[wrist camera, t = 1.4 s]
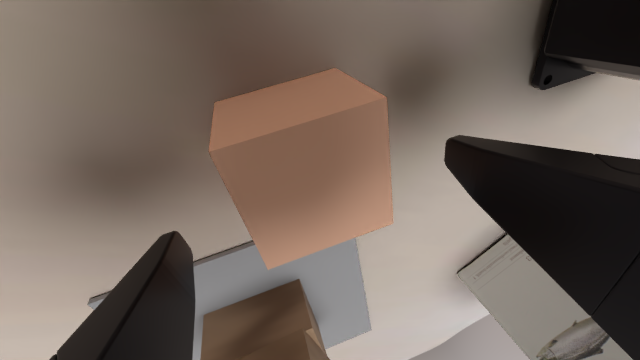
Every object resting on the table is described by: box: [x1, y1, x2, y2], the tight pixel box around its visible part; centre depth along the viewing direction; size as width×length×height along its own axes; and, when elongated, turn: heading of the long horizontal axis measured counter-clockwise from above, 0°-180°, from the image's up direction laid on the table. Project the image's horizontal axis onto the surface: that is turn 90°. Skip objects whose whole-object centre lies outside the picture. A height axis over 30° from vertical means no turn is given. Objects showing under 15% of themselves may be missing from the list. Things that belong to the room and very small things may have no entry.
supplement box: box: [458, 235, 633, 360], centre depth 19 cm, size 7×7×13 cm
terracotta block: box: [209, 68, 393, 270], centre depth 10 cm, size 5×5×4 cm
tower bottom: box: [200, 279, 327, 360], centre depth 17 cm, size 6×6×3 cm
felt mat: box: [87, 238, 371, 360], centre depth 18 cm, size 14×14×1 cm
